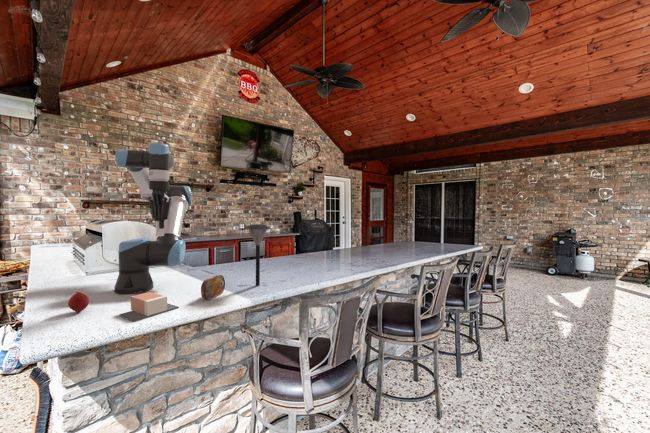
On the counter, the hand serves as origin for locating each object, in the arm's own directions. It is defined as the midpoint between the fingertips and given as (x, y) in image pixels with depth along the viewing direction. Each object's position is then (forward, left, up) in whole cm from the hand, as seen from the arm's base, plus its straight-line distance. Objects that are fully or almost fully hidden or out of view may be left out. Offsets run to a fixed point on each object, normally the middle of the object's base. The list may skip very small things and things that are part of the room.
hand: (160, 236), depth 128 cm
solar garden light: (+23, +35, -26) cm, 49 cm away
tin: (+19, +12, -26) cm, 34 cm away
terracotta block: (+10, -13, -23) cm, 28 cm away
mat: (+16, -13, -26) cm, 33 cm away
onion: (-5, -27, -26) cm, 38 cm away
